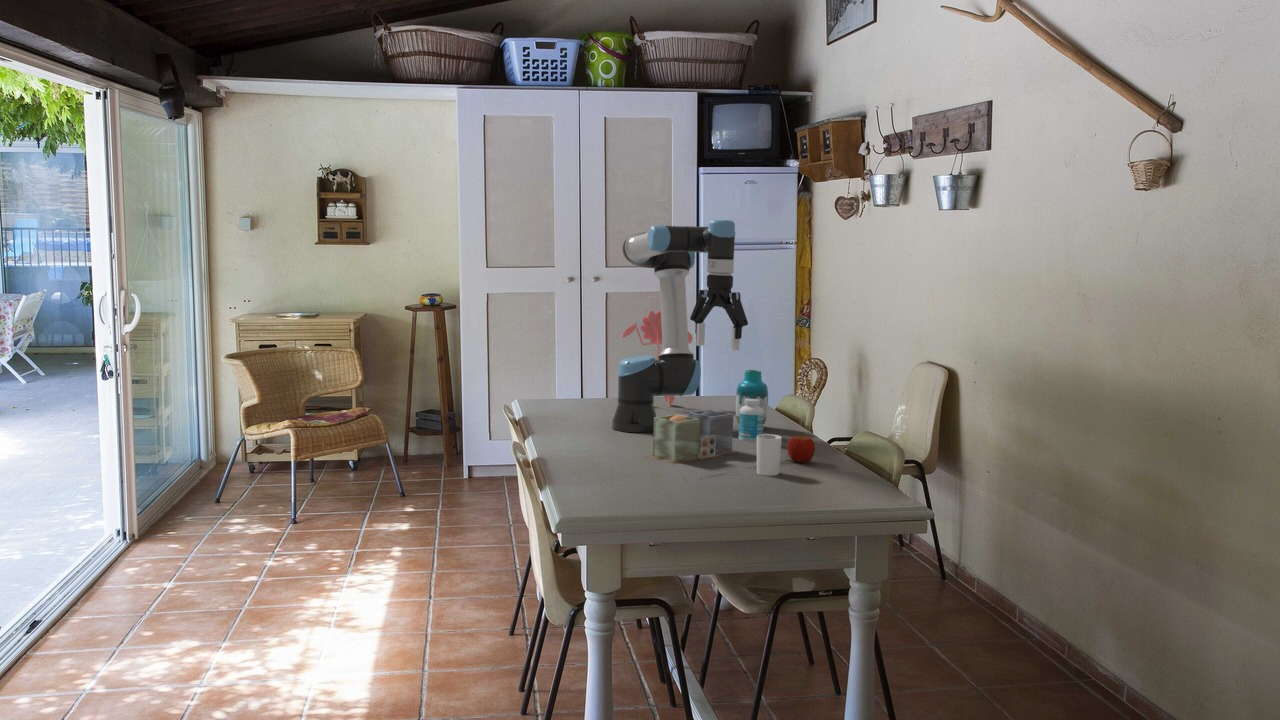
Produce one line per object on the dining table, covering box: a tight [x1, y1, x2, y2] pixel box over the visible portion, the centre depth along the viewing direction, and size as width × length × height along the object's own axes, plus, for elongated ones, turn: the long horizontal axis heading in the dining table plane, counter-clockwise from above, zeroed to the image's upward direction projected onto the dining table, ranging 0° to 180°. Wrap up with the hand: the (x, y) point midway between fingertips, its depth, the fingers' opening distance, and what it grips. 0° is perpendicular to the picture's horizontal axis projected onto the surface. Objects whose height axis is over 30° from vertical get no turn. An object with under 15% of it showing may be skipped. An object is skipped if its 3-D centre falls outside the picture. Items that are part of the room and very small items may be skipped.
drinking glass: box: [756, 433, 783, 477], centre depth 273 cm, size 7×7×10 cm
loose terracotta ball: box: [670, 414, 687, 422], centre depth 283 cm, size 6×6×6 cm
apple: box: [786, 435, 816, 464], centre depth 288 cm, size 8×8×8 cm
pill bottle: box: [738, 399, 764, 444], centre depth 313 cm, size 8×7×14 cm
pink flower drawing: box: [621, 310, 694, 408], centre depth 377 cm, size 15×26×35 cm, turn 101°
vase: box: [735, 369, 769, 426], centre depth 337 cm, size 11×11×19 cm
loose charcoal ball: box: [701, 411, 717, 416], centre depth 292 cm, size 6×6×6 cm
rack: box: [645, 408, 739, 465], centre depth 288 cm, size 12×26×12 cm, turn 134°
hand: (717, 347), depth 295 cm, fingers open, 13 cm apart
